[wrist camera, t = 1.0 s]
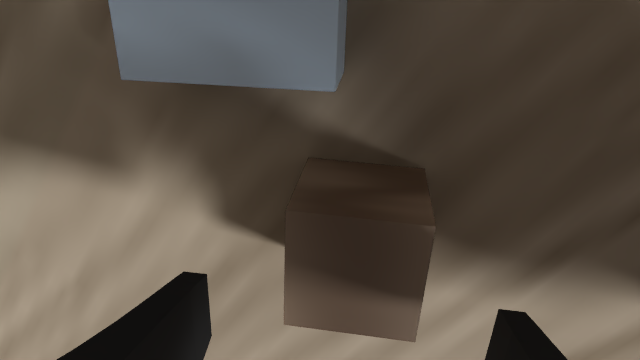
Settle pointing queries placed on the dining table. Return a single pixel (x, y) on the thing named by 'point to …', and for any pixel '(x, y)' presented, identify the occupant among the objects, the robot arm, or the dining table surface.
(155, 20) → the base block
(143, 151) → the dining table surface
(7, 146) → the dining table surface
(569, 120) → the dining table surface
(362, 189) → the walnut cube
